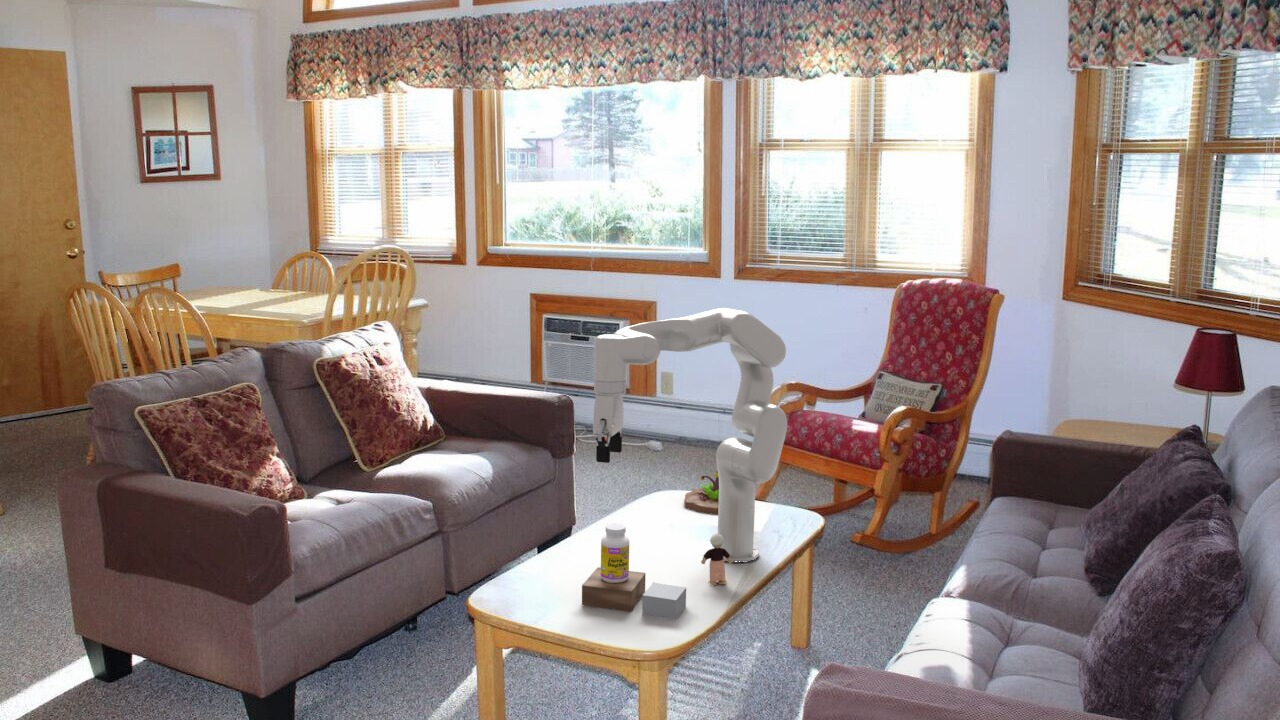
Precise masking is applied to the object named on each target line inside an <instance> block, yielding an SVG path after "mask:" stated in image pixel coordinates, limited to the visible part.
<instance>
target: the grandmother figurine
mask: <svg viewBox="0 0 1280 720" xmlns="http://www.w3.org/2000/svg"><path fill="white" fill-rule="evenodd" d="M709 542H710V544H711V546H712V548H713V547H714V549H712V548H710V549H708V550H707V551H705V553H704V554H703V556H702V559H701V561H700V562H701V564H702V565H705V564H706V561H707V560H709V559H710V560H709V580H708V584H709V583H710V584H711V586H712V585H716V586H718V584H719V583H720V584H725V583H726V584H727V580H726V566H725V561H724V559H723V556H724V557H725V558H726V559H727V560H728V562H727V563H728V564H733V563H732V560H731V557H730V555H729V553H728V552H727V551H726V550H725V549H723V548H720V547H721V546H722V544H723V542H724V539H723V536H722V535H721V534H718V533H714V534H713V535H712V536H710V539H709ZM718 582H719V583H718ZM710 584H709V585H710ZM720 584H719V585H720ZM726 584H725V585H726Z"/></svg>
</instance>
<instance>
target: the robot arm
mask: <svg viewBox="0 0 1280 720" xmlns="http://www.w3.org/2000/svg"><path fill="white" fill-rule="evenodd" d="M720 343H729V349H730V352H731V354H732V355H733V358H735V360H736V362H737V364H738V366H739V369H740V376H741V377H740V383H739V388H738V392H737V396H736V400H735V403H734V408H733V410H732V415H731V425H732V427H733V428H734V430H736V431H737V432H739V433H741V434H743V435H747V436H749V437H752V438H753V439H752V441H751V440H747V439H745V438H741V437H729V438H727V439H724V440H722V442H721V443H720V444H719V445H718V447H717V449H716V453H715V454H716V455H715V461H716V467H717V468H716V469H717V471H718V475H719V506H718V514H717V516H718V517H717V534H721V535H722V536H723V539H724V542H723V544H722V546H721V547H720V548H723V549H725V550H726V551H727V552H728V553H729V555H730V557H731V560H732V562H735V561H737V562H739V561H740V562H743V561H750V560H753V559H755V560H757V559H758V558H759V557H758V556H760V551H759V550H758V548H757V547H755V546H754V537H755V536H754V535H755V512H756V511H755V509H756V507H755V506H756V505H755V504H756V486H755V483H756V484H765V483H766V482H768V481H770V480H771V479H772V478H773V476H774V475H775V473H776V471H777V469H778V466H779V463H780V458H781V454H782V450H783V447H784V444H785V440H786V435H787V431H788V418H787V415H786V413H785V411H784V410H783V409H782V407H780V406H778V405H776V404H773V403H771V397H772V392H773V387H774V373H773V370H772V368H775V367H778V366H779V365H780V364H781V363H782V362H783V361H784V360H785V358H786V354H787V347H786V344H785V342H784V340H783V338H782V337H781V336H780V335H778V334H777V333H776V332H775V331H774V330H772V329H771V328H770V327H769V326H767V325H766V324H764V322H762V321H761V320H759V319H758V318H756V317H755V316H754V315H752V314H751V313H749V312H746V311H744V310H738V309H733V308H728V307H720V308H719V307H718V308H715V309H711V310H706V311H703V312H702V311H701V312H699V313H695V314H691V315H687V316H683V317H677V318H669V319H661V320H656V321H655V320H654V321H653V320H652V321H647V322H641V323H637V324H634V325H629V326H625V327H623V328H620V329H618V330H616V331H615V332H614V333H612V334H609V333H606V334H605V333H604V334H599V335H597V336H596V337H595V340H594V346H593V347H594V349H593V350H594V353H593V354H594V358H593V359H594V363H593V364H594V367H593V368H594V369H593V372H594V376H593V385H594V387H593V393H594V394H595V400H594V408H593V420H592V421H593V423H592V434H593V435H594V436H596V438H595V445H596V447H595V448H596V449H595V450H596V453H595V455H596V458H595V459H596V462H597V463H603V464H609V463H610V462H611V453H619V454H620V453H621V452H623V451H622V450H623V430H622V429H623V425H624V395H626V393H627V387H626V386H627V365H637V366H648V365H650V364H652V363H654V362H656V360H657V359H658V358H659V356H660V354H661V352H663V351H668V352H675V353H681V352H692V351H695V350H699V349H702V348H706V347H710V346H713V345H717V344H720ZM711 549H714V547H713V546H712V548H711ZM757 557H758V558H757ZM756 558H757V559H756ZM723 559H724V562H725V561H728V560H727V559H726V558H725V557H724V556H723ZM753 561H754V560H753ZM750 562H751V561H750Z"/></svg>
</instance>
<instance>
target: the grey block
mask: <svg viewBox="0 0 1280 720" xmlns="http://www.w3.org/2000/svg"><path fill="white" fill-rule="evenodd" d="M641 600H642V602H641V603H642V606H641V607H642V609H641V610H642V611H641V616H646V617H653V618H659V619H666V620H671V621H676V620H677V619H678V618H679V617H680V615H681V614H682V612H683V611H684V610H685V609H686V608H687V607H686V605H687V587H686V586H680V585H679V586H678V585H674V584H673V585H672V584H666V583H658V582H653V583H652V584H651V585H650V586H649V587H648V588H647V589H646V590H645V593H644V594H643V595H642V598H641Z"/></svg>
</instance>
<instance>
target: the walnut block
mask: <svg viewBox="0 0 1280 720" xmlns="http://www.w3.org/2000/svg"><path fill="white" fill-rule="evenodd" d="M645 592H646V572H640V571H633V570H629V577H628V579H627V580H626V581H624V582H621V583H609V582H606V581H604V580H602V579H601V567H596V568H595V570H594V571H593V572H592V573H591V574H590V576H589V577H588V578H587V579H586V580H585V581H584V583H582V585H581V606H582V605H584V606H583V607H588V606H590V607H591V608H598V609H606V610H612V611H620V612H630V613H632V612H633V610H634V609H635V607H636V606H637V605H638V603H639V602H640V601H641V600H642V595H643V594H644V593H645ZM590 607H589V608H590Z"/></svg>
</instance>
